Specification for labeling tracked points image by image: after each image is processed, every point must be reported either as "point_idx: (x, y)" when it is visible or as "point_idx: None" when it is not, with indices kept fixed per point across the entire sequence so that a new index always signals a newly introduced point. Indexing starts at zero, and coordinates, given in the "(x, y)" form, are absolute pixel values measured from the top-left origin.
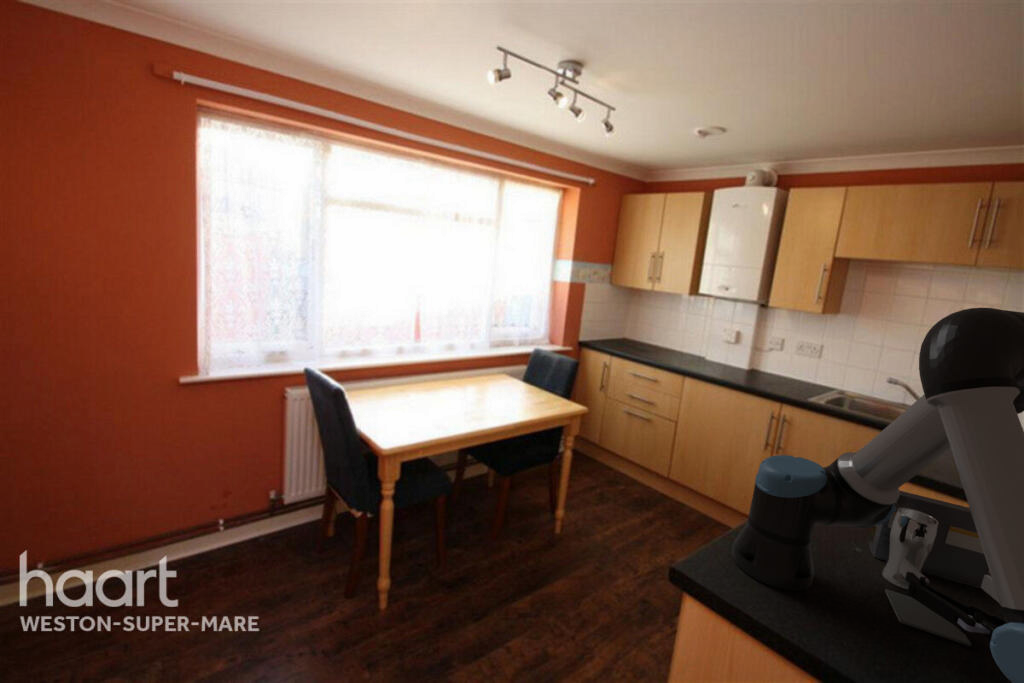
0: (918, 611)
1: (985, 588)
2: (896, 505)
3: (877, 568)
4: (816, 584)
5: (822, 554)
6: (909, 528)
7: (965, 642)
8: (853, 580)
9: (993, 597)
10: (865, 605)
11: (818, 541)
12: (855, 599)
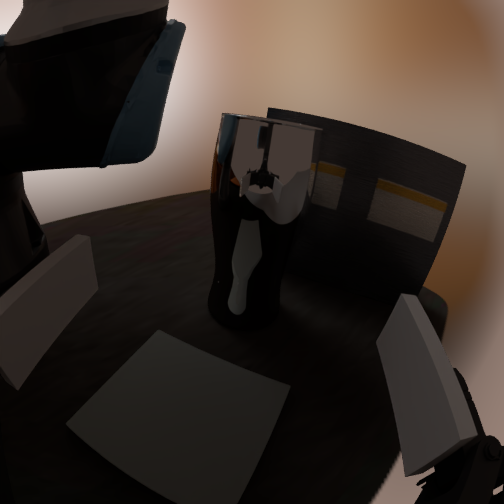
0: (168, 403)
1: (385, 349)
2: None
3: None
4: None
5: (131, 253)
6: (224, 147)
7: None
8: (112, 305)
9: (391, 392)
10: (44, 367)
11: (164, 233)
12: None
